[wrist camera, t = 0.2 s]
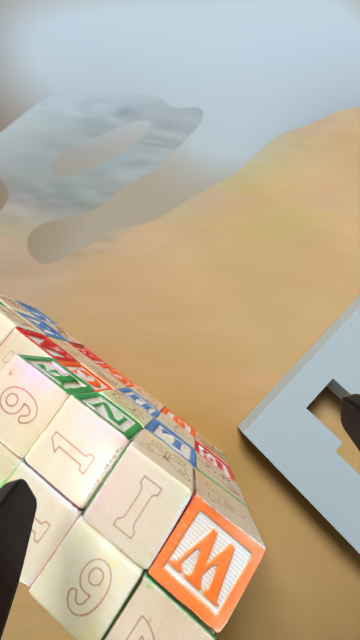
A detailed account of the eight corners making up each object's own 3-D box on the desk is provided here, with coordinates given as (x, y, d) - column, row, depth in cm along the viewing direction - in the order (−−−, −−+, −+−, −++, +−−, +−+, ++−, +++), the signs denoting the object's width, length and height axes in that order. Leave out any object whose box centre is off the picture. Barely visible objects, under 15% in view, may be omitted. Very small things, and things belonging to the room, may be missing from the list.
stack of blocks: (-10, 362, 24) (-222, 346, 12) (36, 307, 24) (-117, 239, 12) (182, 525, 20) (163, 749, 8) (227, 453, 21) (272, 557, 9)
